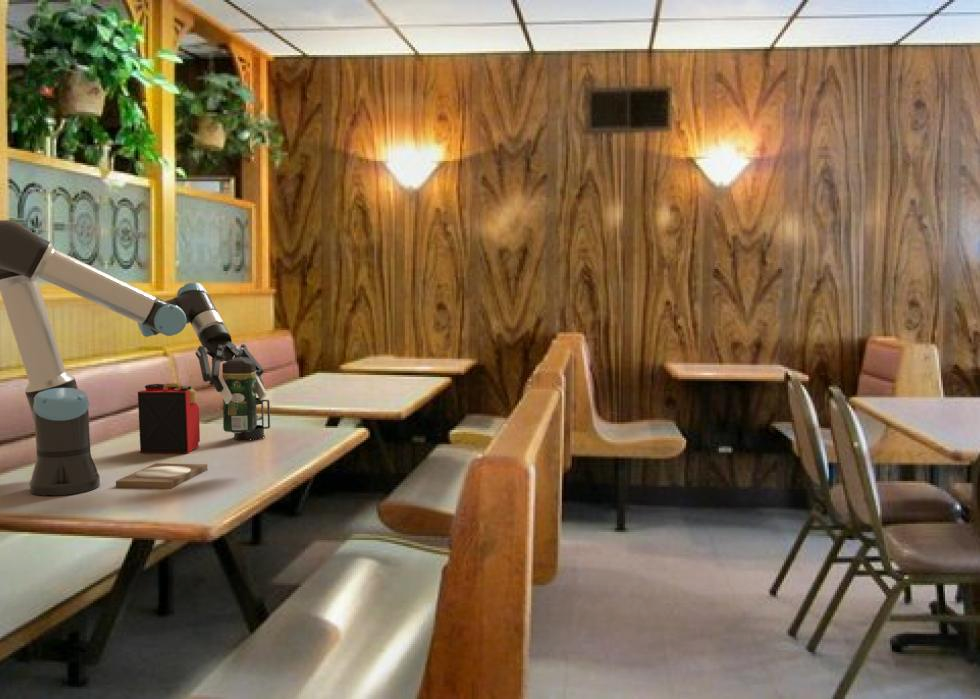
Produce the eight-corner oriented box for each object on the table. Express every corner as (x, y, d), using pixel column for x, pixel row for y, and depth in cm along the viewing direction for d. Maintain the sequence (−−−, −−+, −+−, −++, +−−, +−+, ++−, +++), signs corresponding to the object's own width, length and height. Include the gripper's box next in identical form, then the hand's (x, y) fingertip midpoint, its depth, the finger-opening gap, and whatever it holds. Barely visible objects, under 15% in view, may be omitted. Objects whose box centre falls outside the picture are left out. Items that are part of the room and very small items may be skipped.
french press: (227, 440, 277) (225, 365, 275) (235, 435, 286) (233, 362, 284) (266, 440, 277) (264, 365, 275) (273, 434, 286) (271, 362, 284)
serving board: (171, 488, 216) (171, 481, 216) (115, 487, 218) (115, 480, 218) (207, 469, 236) (207, 463, 236) (156, 468, 238) (156, 462, 238)
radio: (203, 447, 267) (201, 379, 265) (188, 454, 257) (186, 383, 255) (152, 446, 269) (149, 379, 267) (135, 453, 259) (132, 383, 257)
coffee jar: (228, 427, 235) (227, 355, 234) (259, 427, 236) (258, 355, 234) (219, 433, 226) (218, 359, 224) (251, 433, 226) (251, 359, 224)
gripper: (242, 340, 247) (277, 403, 238) (167, 343, 231) (201, 412, 222) (253, 321, 243) (289, 385, 234) (178, 323, 227) (213, 392, 218)
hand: (246, 398), depth 228 cm, fingers closed on coffee jar, 9 cm apart
